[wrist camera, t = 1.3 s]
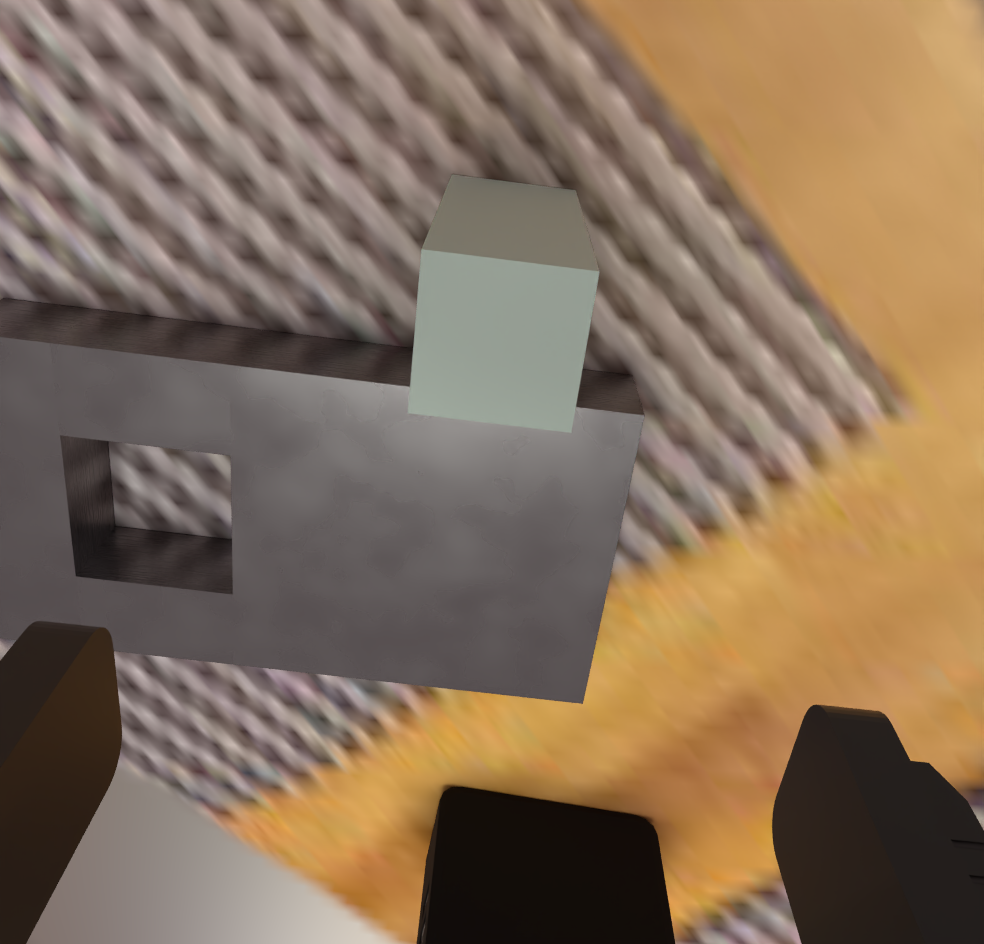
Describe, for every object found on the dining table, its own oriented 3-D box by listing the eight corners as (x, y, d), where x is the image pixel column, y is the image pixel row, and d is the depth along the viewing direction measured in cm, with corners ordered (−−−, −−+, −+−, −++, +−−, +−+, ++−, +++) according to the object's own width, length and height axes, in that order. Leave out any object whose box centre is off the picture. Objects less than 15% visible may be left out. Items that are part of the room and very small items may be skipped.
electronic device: (442, 782, 41) (420, 995, 32) (655, 816, 42) (691, 1035, 33) (427, 844, 43) (403, 1062, 34) (631, 877, 44) (659, 1099, 35)
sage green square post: (575, 190, 29) (599, 271, 20) (556, 309, 31) (571, 433, 22) (452, 174, 29) (421, 249, 20) (440, 295, 31) (407, 413, 22)
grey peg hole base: (632, 375, 32) (644, 415, 29) (577, 645, 37) (582, 703, 34) (3, 298, 31) (-54, 330, 28) (41, 584, 37) (-3, 637, 34)
